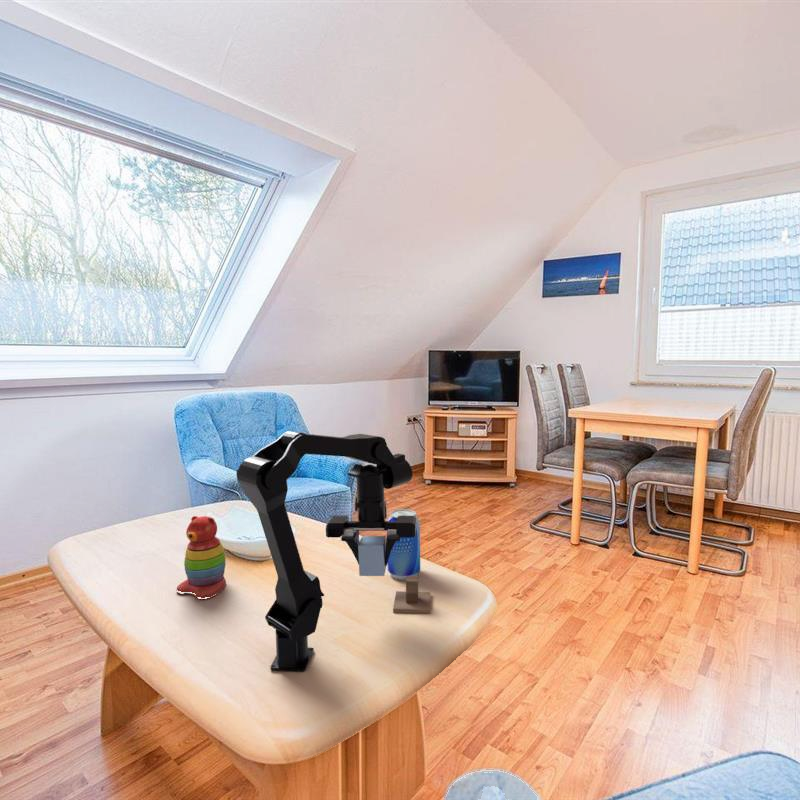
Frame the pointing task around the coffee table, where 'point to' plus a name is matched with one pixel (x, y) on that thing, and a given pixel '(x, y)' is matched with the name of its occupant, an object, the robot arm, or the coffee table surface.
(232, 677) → the coffee table surface
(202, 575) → the stacking bear
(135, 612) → the coffee table surface
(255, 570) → the coffee table surface
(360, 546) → the pale blue foam brick
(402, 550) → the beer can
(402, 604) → the brown square stand
